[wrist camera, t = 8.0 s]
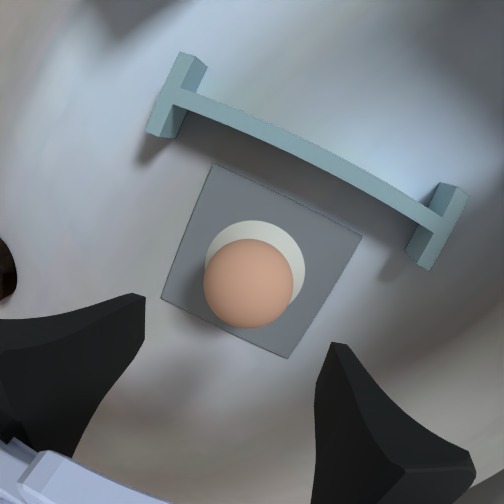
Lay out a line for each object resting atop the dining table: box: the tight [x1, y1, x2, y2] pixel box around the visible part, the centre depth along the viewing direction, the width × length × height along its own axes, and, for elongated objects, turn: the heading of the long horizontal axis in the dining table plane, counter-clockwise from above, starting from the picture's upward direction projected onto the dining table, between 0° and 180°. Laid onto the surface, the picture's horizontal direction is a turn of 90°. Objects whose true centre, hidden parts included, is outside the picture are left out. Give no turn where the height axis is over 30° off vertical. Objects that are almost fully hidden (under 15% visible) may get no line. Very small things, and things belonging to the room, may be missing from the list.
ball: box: [203, 239, 293, 329], centre depth 18 cm, size 5×5×5 cm
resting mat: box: [161, 164, 362, 359], centre depth 21 cm, size 10×10×1 cm
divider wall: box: [145, 52, 469, 271], centre depth 17 cm, size 18×5×2 cm, turn 65°
